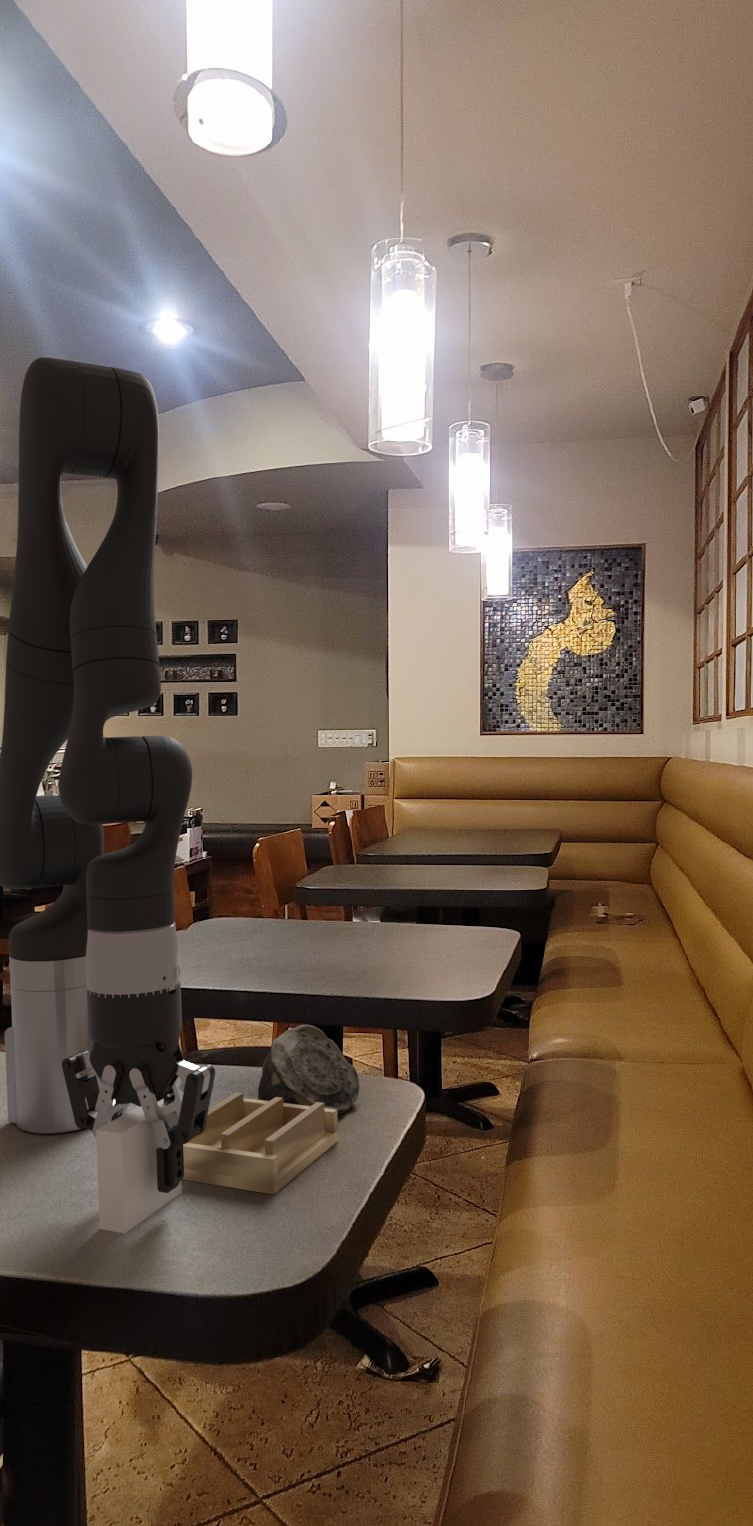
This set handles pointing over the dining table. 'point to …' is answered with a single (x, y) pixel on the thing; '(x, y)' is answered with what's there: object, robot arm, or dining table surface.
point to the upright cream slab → (128, 1172)
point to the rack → (258, 1143)
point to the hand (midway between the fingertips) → (141, 1183)
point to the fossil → (308, 1071)
